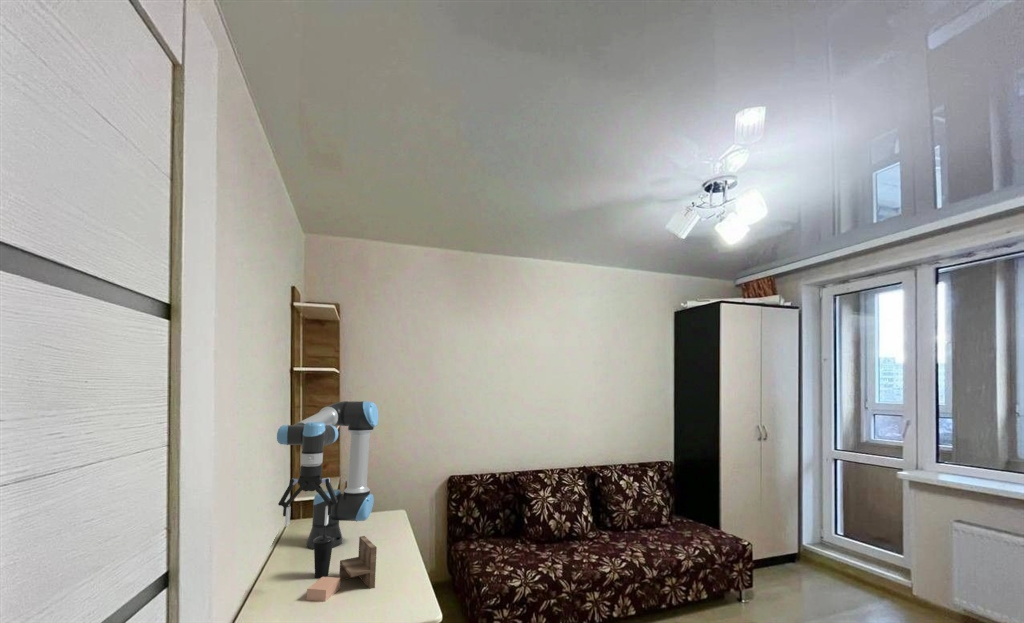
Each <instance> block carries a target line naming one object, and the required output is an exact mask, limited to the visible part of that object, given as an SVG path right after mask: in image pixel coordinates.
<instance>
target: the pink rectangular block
mask: <svg viewBox="0 0 1024 623" xmlns="http://www.w3.org/2000/svg"><path fill="white" fill-rule="evenodd" d="M306 589H307V590H306V601H313V602H314V601H315V602H327V601H329V599H330V598H331V597H332V596H334V595H335V594H336V592H338V591H339V590H340V589H341V580H340V578H339V577H332V576H327V577H322V578H318V580H316V581H315V582H314V583H312V584H311V585H310V586H308V587H307V588H306Z"/></svg>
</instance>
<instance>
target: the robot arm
mask: <svg viewBox="0 0 1024 623" xmlns="http://www.w3.org/2000/svg"><path fill="white" fill-rule="evenodd" d="M378 424H379V409H378V406H377V405H376V403H375V402H373V401H366V400H365V401H364V400H363V401H360V400H359V401H352V400H351V401H348V400H347V401H346V400H345V401H339V402H335V403H332V404H329V405H326V406H325V407H322V408H321V409H320V410H319V412H317V413H315V414H313V415H311V416H309V417H307V418H305V419H303V420H301V421H298V422H296V423H295V424H292V425H291V424H290V425H289V424H285V425H281V426H279V428H278V430H277V432H276V441H277V443H278V444H280V445H286V446H302V447H301V448H302V449H301V456H300V464H301V466H299V467H300V469H299V478H295V477H292V478H291V479H289V483H288V484H289V485H288V487H287V488H286V490H285V492H284V493H283V494H282V496H281V499H280V500H279V502H278V504H277V505H278V506H280V507H282V508H283V511H282V512H283V513H282V517H285V521H284V522H285V523H284V527H285V528H286V527H288V526H290V519H291V510H292V509H291V508H292V507H291V505H290V504H291V503H292V502H293V501H294V500H295V499H296V497H297V496H298V495H300V494H301V492H302V491H304V492H314V491H315V492H316V493H317V494H315V495H314V498H313V504H312V507H313V508H312V525H311V529H310V532H309V535H308V538H307V540H306V547H307V548H308V549H311V550H314V542H313V540H314V539H315V538H317V537H319V536H321V535H323V530H324V525H326V527H325V535H330V536H333V537H334V540H333V546H332V548H335V547H338V546H339V545H341V544H342V543H343V535H342V532H341V528H340V521H342V522H343V521H345V522H348V521H349V522H364V521H367V519H369V517H370V515H371V513H372V511H373V508H374V507H373V506H374V502H375V498H374V497H375V496H374V495H373V493H371V492H370V491H371V489H370V487H368V475H369V473H368V471H369V459H370V458H369V455H370V454H369V453H370V439H371V438H370V437H371V433H372V432H374V429H375V427H377V426H378ZM338 426H339V427H348V428H347V431H348V432H349V434H350V443H349V444H350V448H349V460H348V462H349V463H348V473H347V474H348V478H347V479H348V480H347V487H346V488H345V489H344V490H343V493H342V491H341V489H339V488H338V489H337V488H335V489H334V488H333V486H332V483H331V477H326V478H322V472H323V471H322V470H323V465H322V464H323V461H324V460H323V459H324V458H323V457H324V448H325V447H324V446H330V445H332V444H334V443H335V442H336V441H337V439H338V438H339V430H338V428H337V427H338ZM322 483H323V485H325V488H326V490H325V491H324V489H323V488H322V486H321V484H322ZM296 484H298V486H299V487H298V488H297V489H296V490H295V492H294V493H293V494H292V495H291V496H290V498H288V497H289V494H290V493H291V491H292V490H293V488H294V486H295V485H296ZM287 498H288V499H287ZM286 500H287V501H286ZM324 522H325V523H324Z"/></svg>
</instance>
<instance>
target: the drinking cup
mask: <svg viewBox="0 0 1024 623" xmlns="http://www.w3.org/2000/svg"><path fill="white" fill-rule="evenodd" d="M324 523H325V522H324ZM325 527H326V525H324V530H323V535H321V536H319V537H317V538H315V539H314V540H313V542H314V549H313V553H314V554H313V555H314V556H313V557H314V559H313V561H314V578H315V579H320V578H322V577H329V574H330V573H329V572H330V563H331V558H332V552H333V547H332V546H333V540H334V537H333V536H330V535H325Z"/></svg>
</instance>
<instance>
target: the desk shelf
mask: <svg viewBox="0 0 1024 623" xmlns="http://www.w3.org/2000/svg"><path fill="white" fill-rule="evenodd" d="M358 538H359V539H358V556H356V557H351V558H346V559H340V561H339V574H338V575H339V576H338V578H340V581H343V580H348V579H352V578H353V579H354V578H358V577H359V578H360V579H361V580H362V582H363V583H364V584H365V586H366V587H367V588H368V589H373V588H374V589H375V588H376V572H377V570H376V566H377V550H378V549H377V546H376V545H375V544H374V543H373V542H371V540H370V539H369V538H367V536H365V535H362V536H359V537H358Z"/></svg>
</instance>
